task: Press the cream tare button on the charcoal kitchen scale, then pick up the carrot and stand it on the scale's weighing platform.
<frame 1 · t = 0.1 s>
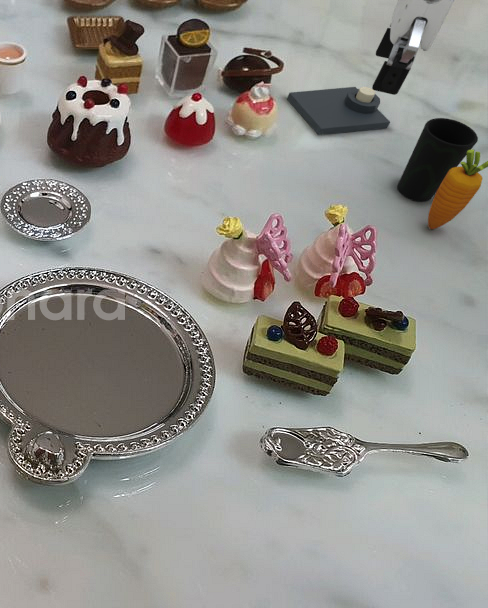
hand: (385, 73, 104), 25 cm above the table, tool pointing down, fingers open, 9 cm apart
scale: (335, 113, 142), on the table
cup: (414, 192, 127), on the table
carrot: (430, 229, 121), on the table
tare button: (365, 94, 140), point 4 cm above the table, slide at 0.2 cm
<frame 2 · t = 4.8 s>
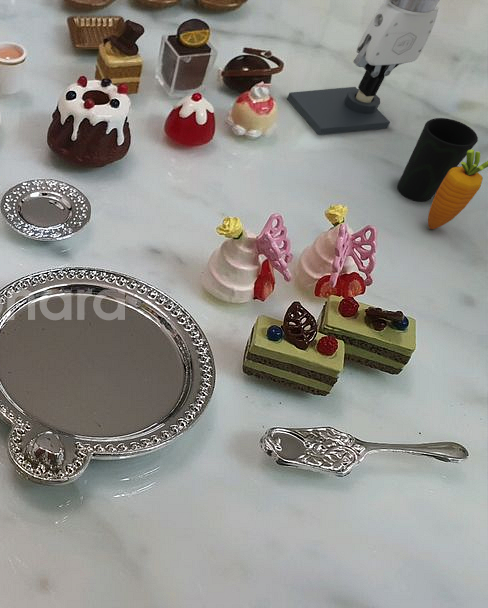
hand: (366, 91, 140), 4 cm above the table, tool pointing down, fingers closed
tare button: (364, 96, 141), point 3 cm above the table, slide at -0.2 cm, touching gripper
everything else where it was.
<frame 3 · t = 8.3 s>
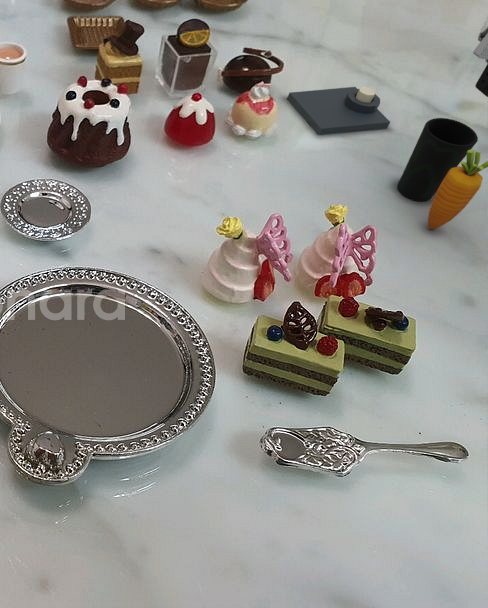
hand: (486, 91, 110), 21 cm above the table, tool pointing down, fingers closed
tare button: (365, 94, 140), point 4 cm above the table, slide at 0.2 cm
everything else where it was.
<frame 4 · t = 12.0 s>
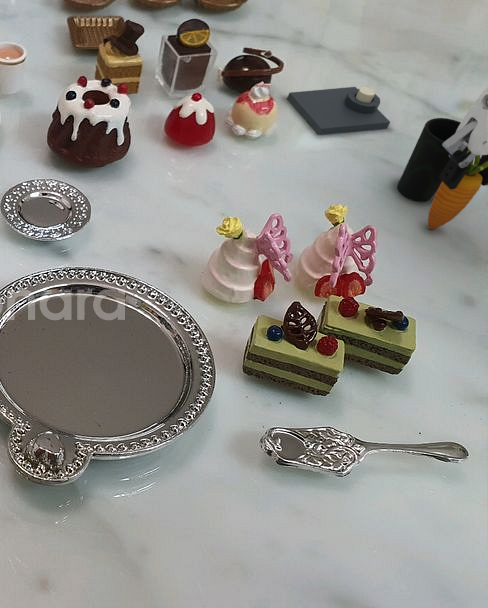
hand: (463, 180, 114), 10 cm above the table, tool pointing down, fingers closed on carrot, 4 cm apart
carrot: (430, 229, 121), on the table, touching gripper
everything else where it was.
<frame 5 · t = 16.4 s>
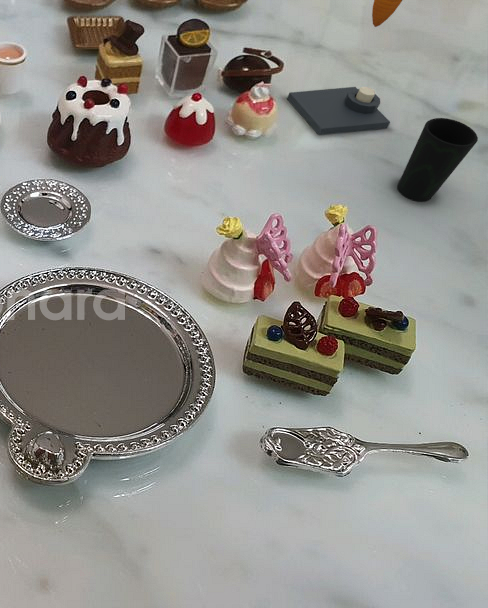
carrot: (374, 27, 126), point 19 cm above the table, touching gripper
everything else where it was.
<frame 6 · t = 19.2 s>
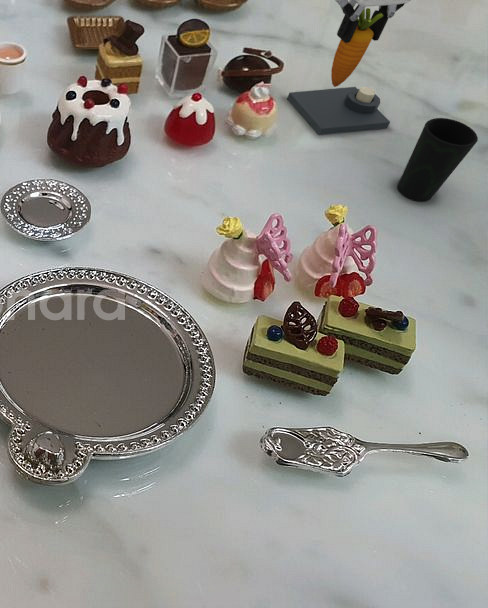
hand: (357, 36, 130), 16 cm above the table, tool pointing down, fingers closed on carrot, 4 cm apart
carrot: (334, 87, 138), point 6 cm above the table, touching gripper
everything else where it was.
when the fingers open (11 cm above the table, at t = 21.0 s): carrot stays where it is, resting on scale.
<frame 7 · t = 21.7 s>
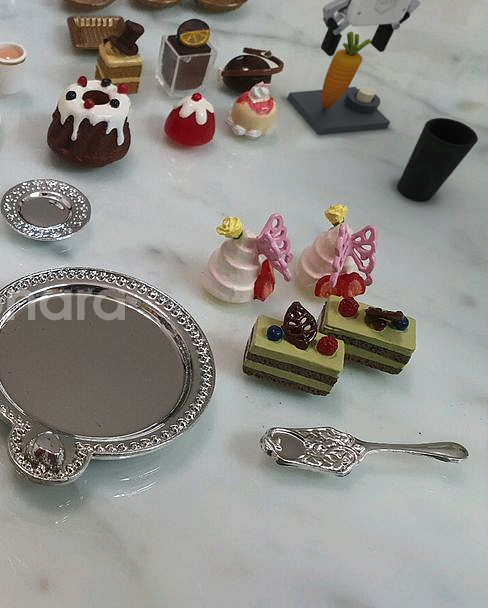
hand: (351, 50, 132), 13 cm above the table, tool pointing down, fingers open, 9 cm apart
carrot: (324, 109, 141), point 1 cm above the table, touching scale
everything else where it was.
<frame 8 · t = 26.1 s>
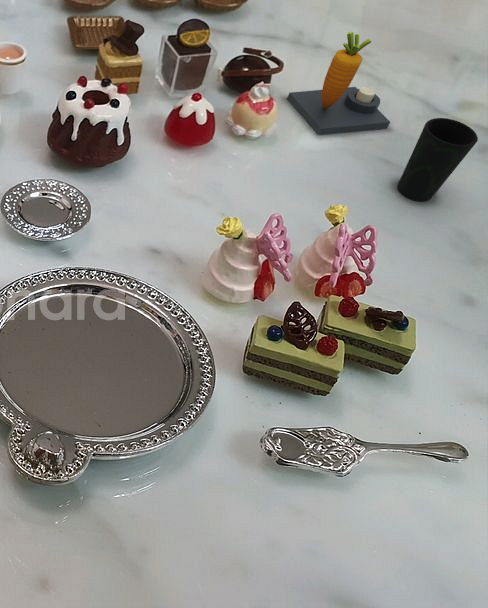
nothing on the table moved.
at the end: tare button pushed in 0.9 cm at the most during the clip, back to 0.2 cm at the end; carrot inside the target area on the scale (0.5 cm from its centre), point 1.2 cm above the scale's base; carrot touching scale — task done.
